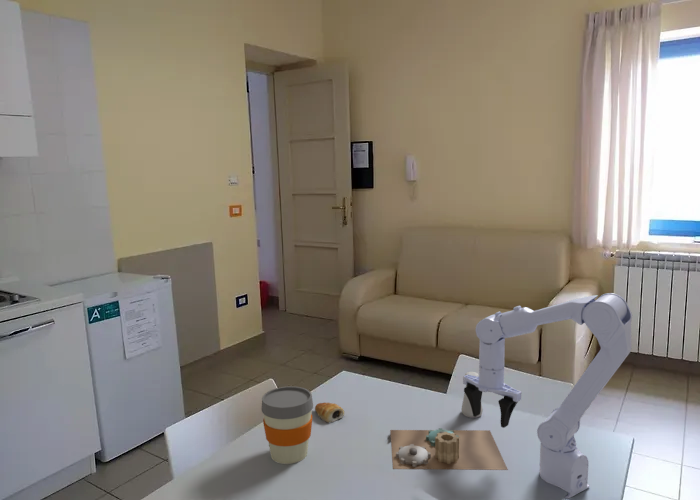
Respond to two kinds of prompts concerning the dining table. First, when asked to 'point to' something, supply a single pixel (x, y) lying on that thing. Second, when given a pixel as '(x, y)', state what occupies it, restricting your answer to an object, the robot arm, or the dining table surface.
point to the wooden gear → (447, 447)
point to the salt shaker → (466, 404)
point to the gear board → (420, 450)
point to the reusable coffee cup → (287, 422)
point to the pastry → (329, 411)
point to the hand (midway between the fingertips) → (490, 420)
